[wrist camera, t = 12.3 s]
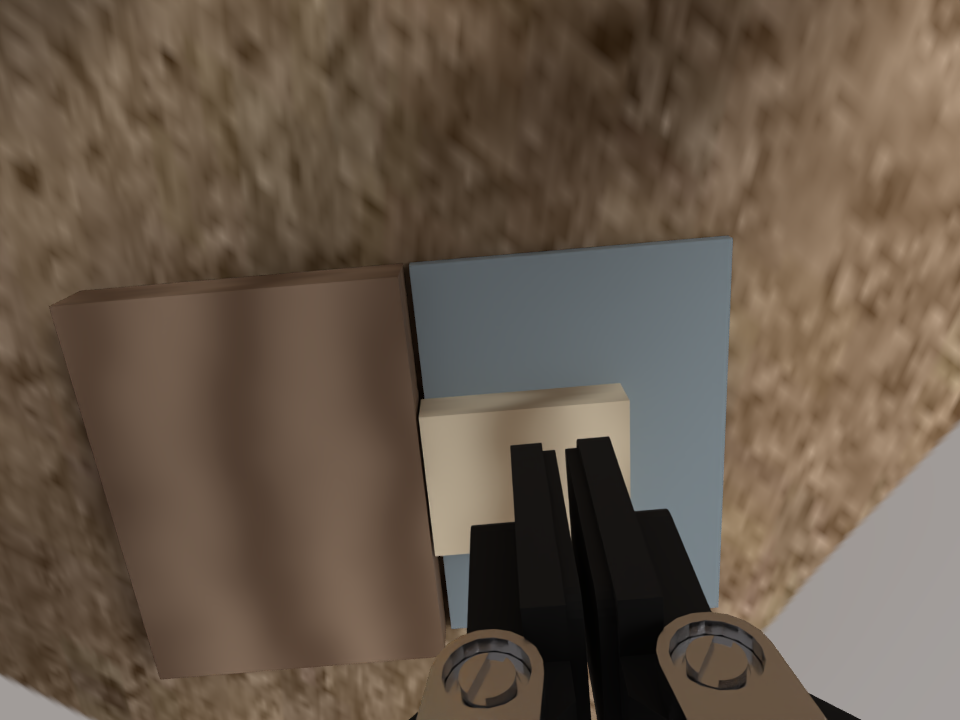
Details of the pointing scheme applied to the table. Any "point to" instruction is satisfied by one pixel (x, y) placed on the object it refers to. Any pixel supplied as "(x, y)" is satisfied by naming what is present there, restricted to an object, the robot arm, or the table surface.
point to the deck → (262, 466)
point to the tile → (507, 449)
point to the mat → (598, 361)
